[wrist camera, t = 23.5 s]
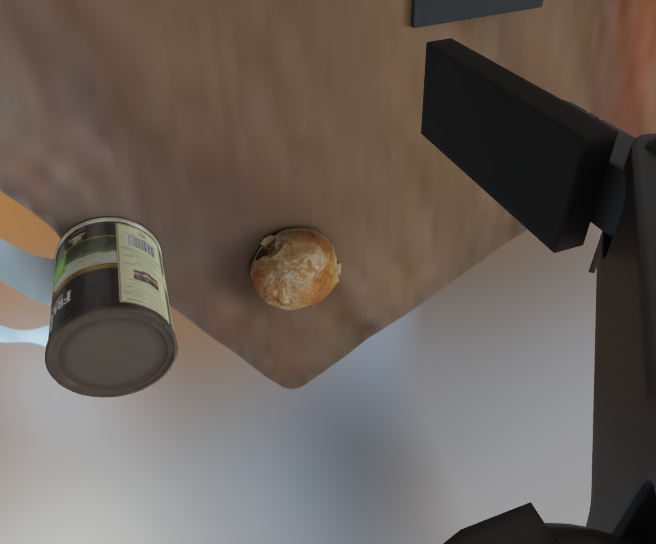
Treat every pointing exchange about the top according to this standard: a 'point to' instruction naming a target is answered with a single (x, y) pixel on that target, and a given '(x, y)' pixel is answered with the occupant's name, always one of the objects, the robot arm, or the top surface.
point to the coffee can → (109, 310)
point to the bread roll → (294, 269)
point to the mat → (463, 9)
